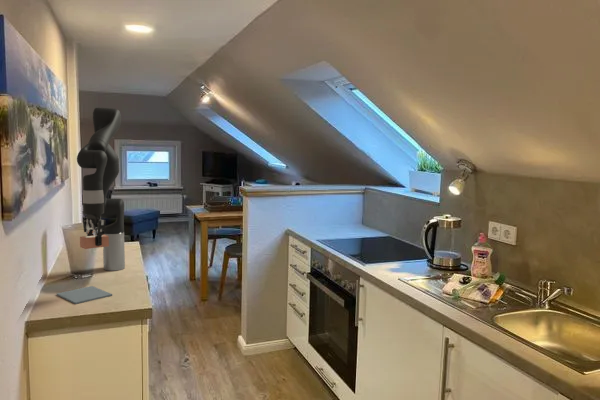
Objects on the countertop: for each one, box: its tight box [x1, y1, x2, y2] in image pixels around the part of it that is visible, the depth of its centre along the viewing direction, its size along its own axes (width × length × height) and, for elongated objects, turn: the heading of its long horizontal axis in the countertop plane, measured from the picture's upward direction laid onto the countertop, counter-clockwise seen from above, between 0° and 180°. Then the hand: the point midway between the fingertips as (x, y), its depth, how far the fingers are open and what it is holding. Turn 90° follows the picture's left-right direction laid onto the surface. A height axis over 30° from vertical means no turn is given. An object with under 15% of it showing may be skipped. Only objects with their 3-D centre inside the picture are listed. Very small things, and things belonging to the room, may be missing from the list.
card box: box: [79, 234, 109, 250], centre depth 183 cm, size 9×6×4 cm, turn 133°
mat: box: [55, 285, 113, 305], centre depth 180 cm, size 16×14×1 cm
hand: (94, 244), depth 183 cm, fingers closed on card box, 5 cm apart
